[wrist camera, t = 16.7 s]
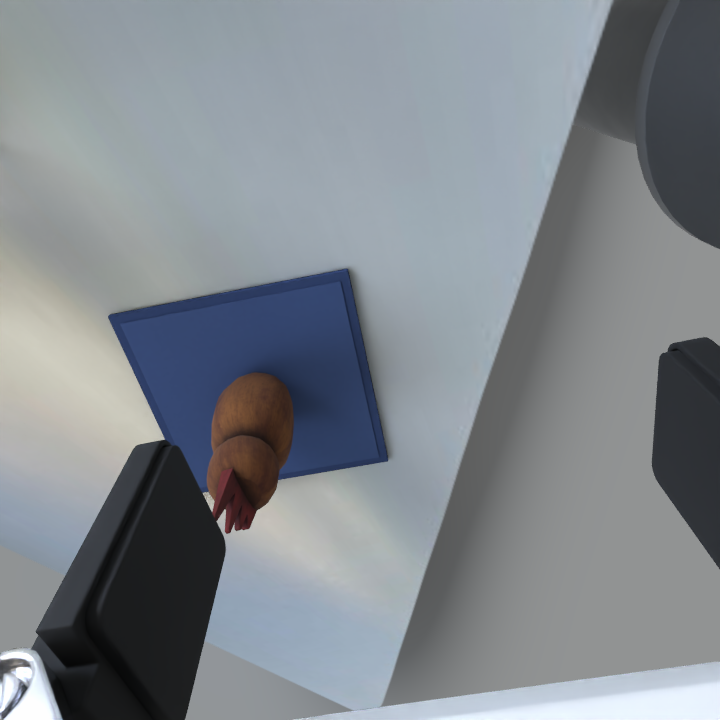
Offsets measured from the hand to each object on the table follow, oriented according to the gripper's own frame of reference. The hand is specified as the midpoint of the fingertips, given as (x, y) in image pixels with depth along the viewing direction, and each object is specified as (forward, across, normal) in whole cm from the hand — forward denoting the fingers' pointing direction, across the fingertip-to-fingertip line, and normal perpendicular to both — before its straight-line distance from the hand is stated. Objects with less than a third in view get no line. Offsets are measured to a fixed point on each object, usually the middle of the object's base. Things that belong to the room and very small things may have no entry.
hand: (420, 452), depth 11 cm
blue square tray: (+29, +12, +15) cm, 35 cm away
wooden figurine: (+28, +12, +15) cm, 34 cm away
